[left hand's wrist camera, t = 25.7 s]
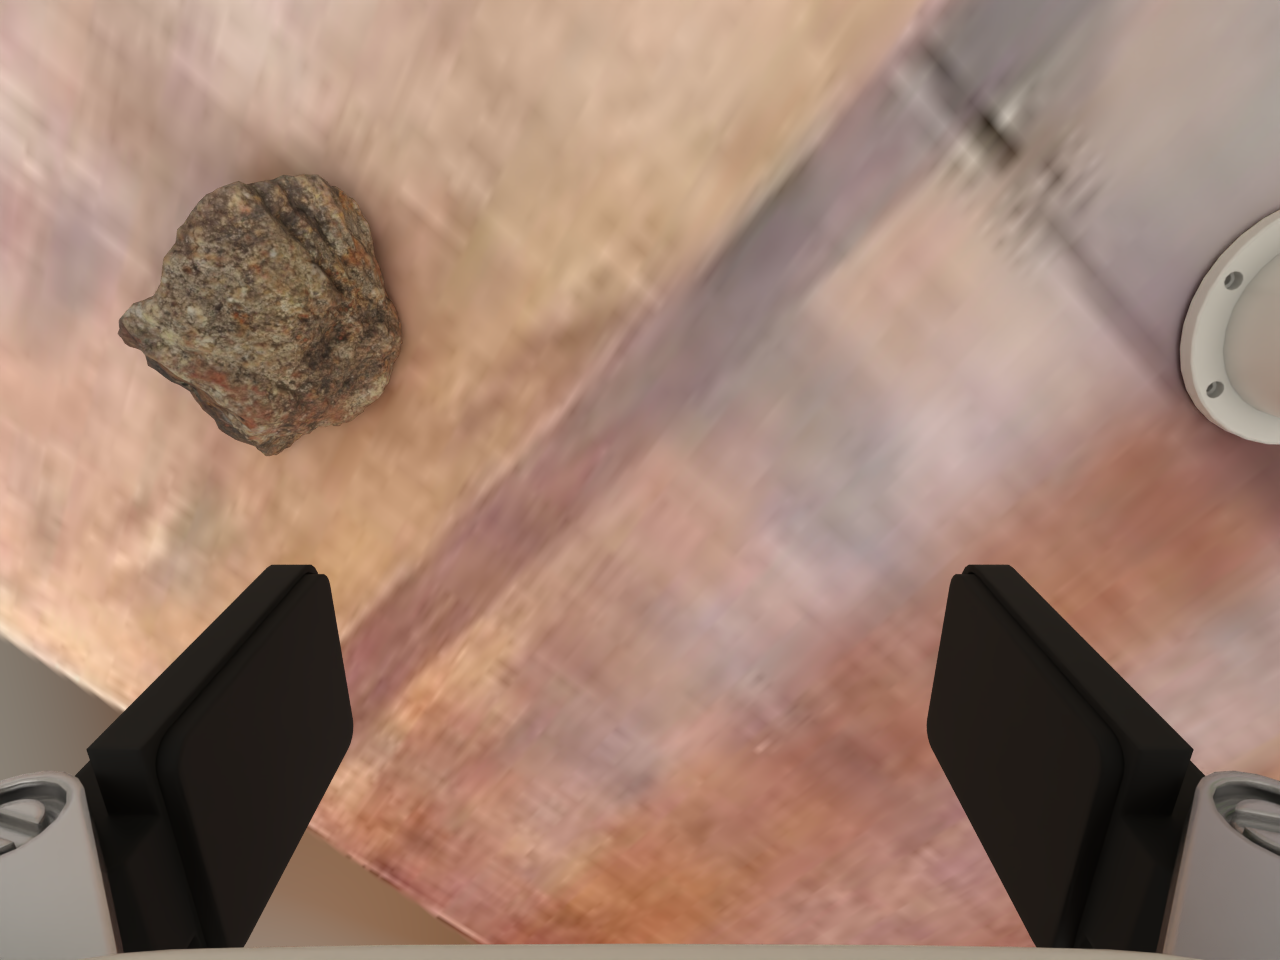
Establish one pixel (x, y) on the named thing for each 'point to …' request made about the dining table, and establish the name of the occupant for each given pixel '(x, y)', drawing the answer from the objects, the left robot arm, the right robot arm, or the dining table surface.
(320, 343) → the rock
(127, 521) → the dining table surface
